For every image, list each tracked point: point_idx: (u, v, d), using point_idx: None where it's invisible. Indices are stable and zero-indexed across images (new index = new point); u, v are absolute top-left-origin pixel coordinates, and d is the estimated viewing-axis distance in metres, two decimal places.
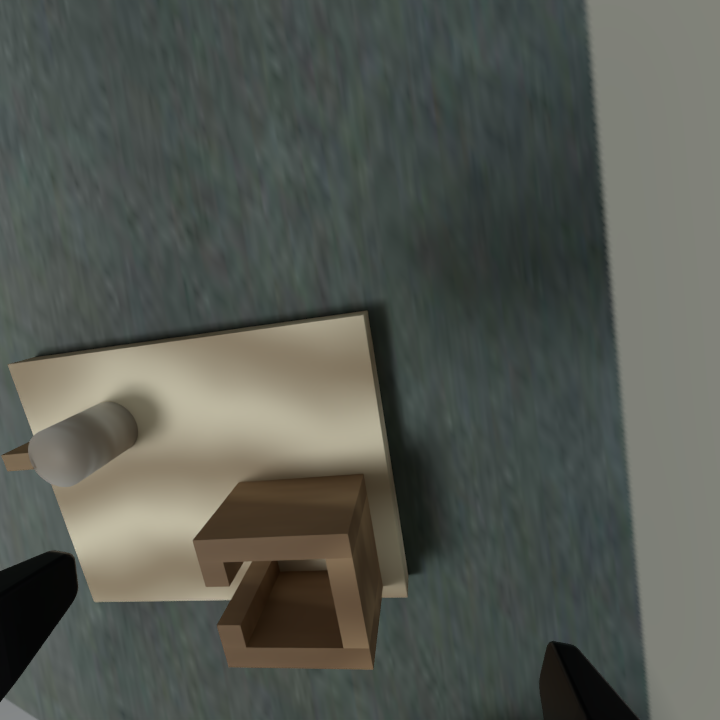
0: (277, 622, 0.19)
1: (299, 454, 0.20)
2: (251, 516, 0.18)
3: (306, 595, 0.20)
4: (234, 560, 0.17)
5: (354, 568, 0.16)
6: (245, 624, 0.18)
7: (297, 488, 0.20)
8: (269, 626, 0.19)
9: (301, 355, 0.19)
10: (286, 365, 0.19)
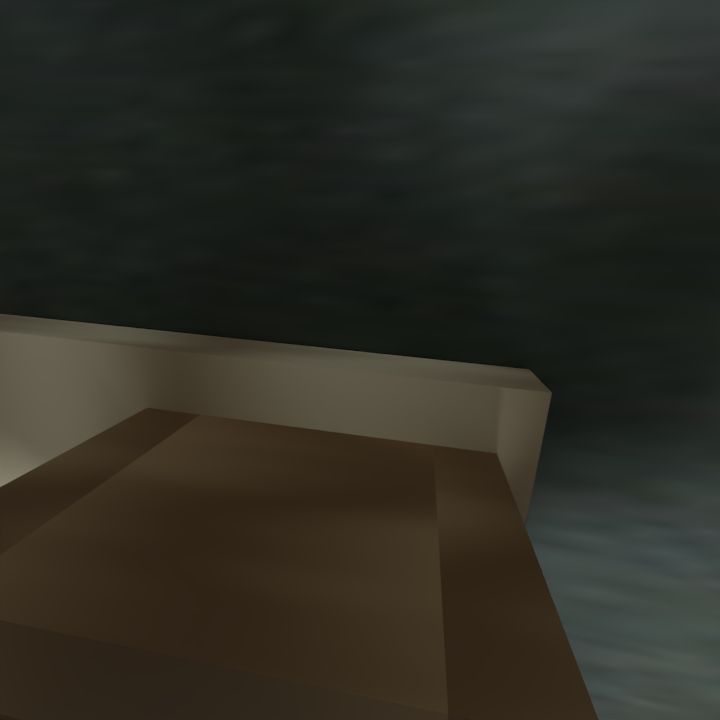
0: None
1: None
2: None
3: None
4: None
5: None
6: None
7: None
8: None
9: None
10: None
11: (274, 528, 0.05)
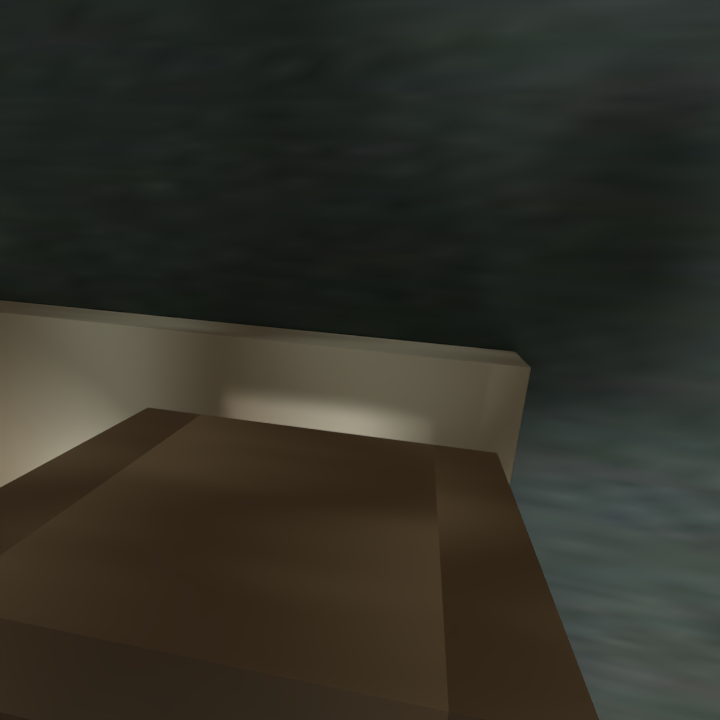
0: None
1: None
2: None
3: None
4: None
5: None
6: None
7: None
8: None
9: None
10: None
11: (275, 527, 0.05)
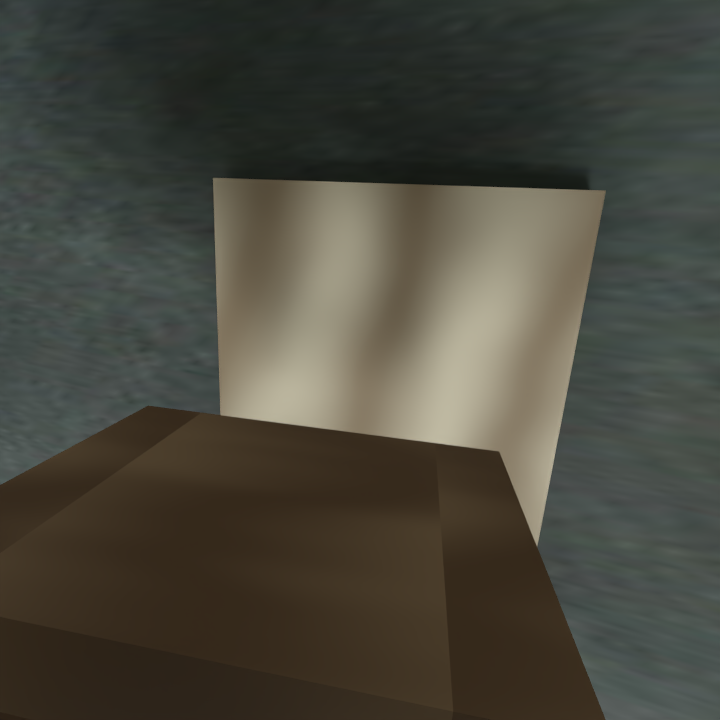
0: None
1: (361, 293, 0.17)
2: None
3: None
4: None
5: None
6: None
7: None
8: None
9: (247, 259, 0.17)
10: (256, 279, 0.18)
11: (276, 525, 0.05)
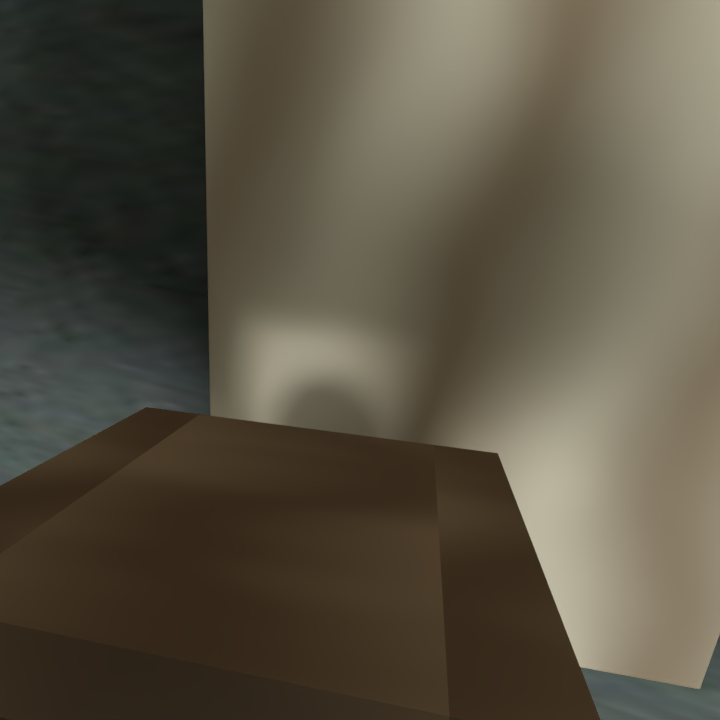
0: None
1: (469, 115, 0.09)
2: None
3: None
4: None
5: None
6: None
7: None
8: None
9: (262, 57, 0.10)
10: (277, 96, 0.10)
11: (274, 528, 0.05)
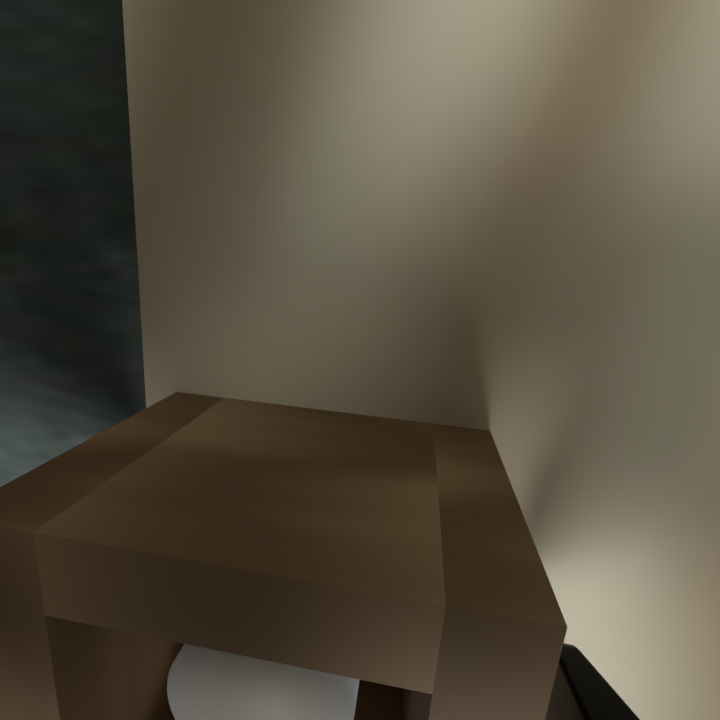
0: None
1: (490, 54, 0.07)
2: None
3: None
4: None
5: (80, 537, 0.04)
6: None
7: None
8: None
9: None
10: (222, 31, 0.07)
11: (300, 484, 0.06)
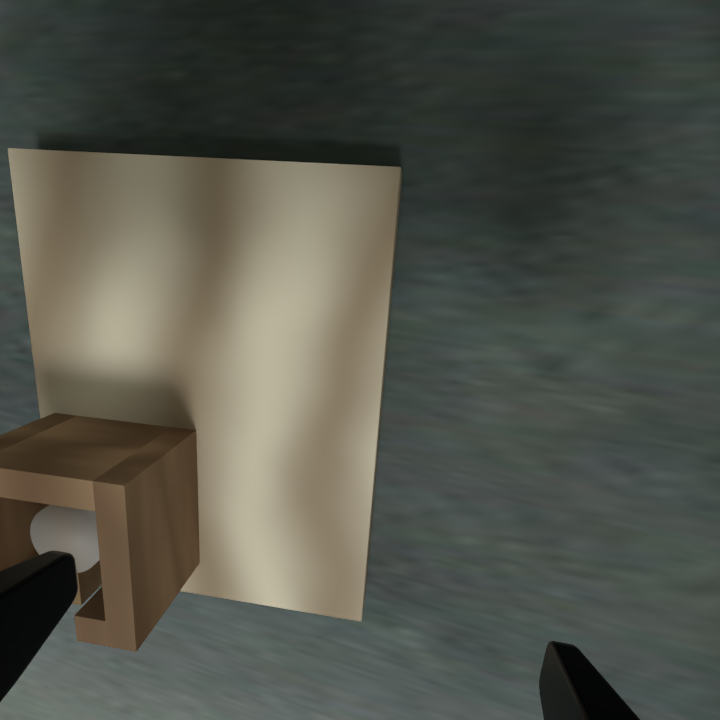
0: None
1: (169, 274, 0.16)
2: None
3: None
4: None
5: None
6: (90, 608, 0.15)
7: None
8: None
9: (51, 236, 0.16)
10: (62, 258, 0.16)
11: (78, 451, 0.15)
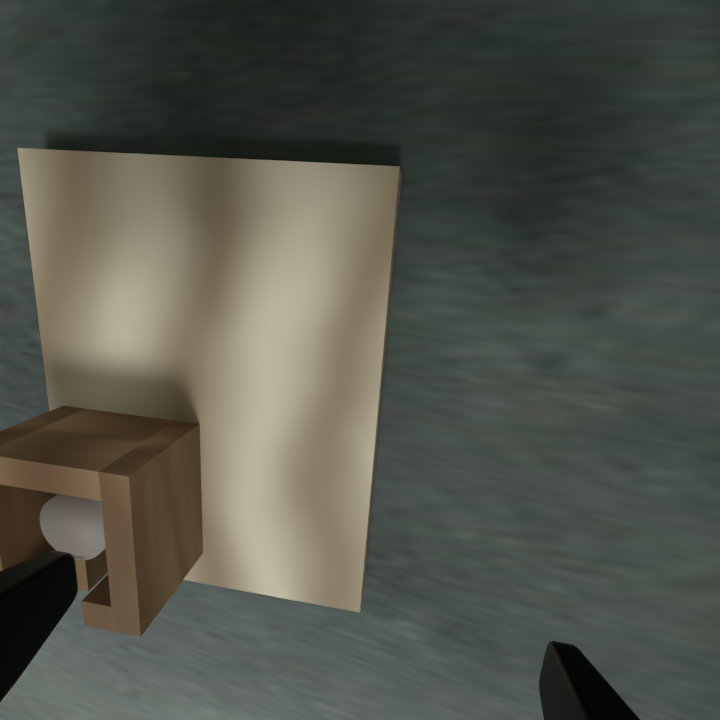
0: None
1: (174, 271, 0.16)
2: None
3: None
4: None
5: None
6: (97, 594, 0.16)
7: None
8: None
9: (59, 234, 0.17)
10: (70, 255, 0.17)
11: (85, 442, 0.16)
